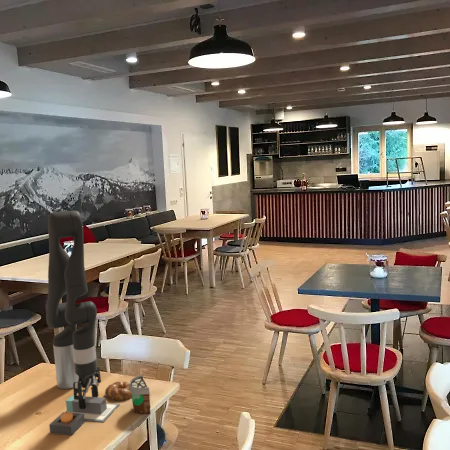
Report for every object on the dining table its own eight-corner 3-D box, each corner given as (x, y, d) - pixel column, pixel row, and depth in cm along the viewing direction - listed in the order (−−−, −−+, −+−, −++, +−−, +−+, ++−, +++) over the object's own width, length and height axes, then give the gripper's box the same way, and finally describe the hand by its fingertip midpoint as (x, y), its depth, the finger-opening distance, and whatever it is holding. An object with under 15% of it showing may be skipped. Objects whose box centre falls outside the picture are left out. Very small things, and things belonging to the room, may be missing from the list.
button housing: (63, 420, 167) (63, 412, 166) (84, 422, 165) (84, 413, 164) (50, 433, 159) (49, 424, 159) (71, 435, 157) (71, 426, 157)
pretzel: (141, 395, 183) (140, 386, 182) (114, 405, 176) (113, 395, 176) (127, 384, 192) (126, 375, 192) (101, 393, 186) (100, 384, 185)
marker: (106, 408, 172) (105, 397, 172) (101, 414, 169) (100, 403, 168) (73, 405, 176) (72, 395, 175) (66, 411, 172) (65, 400, 172)
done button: (65, 418, 164) (64, 411, 164) (75, 419, 163) (74, 412, 163) (58, 424, 160) (58, 417, 160) (69, 425, 159) (68, 418, 159)
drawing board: (77, 401, 180) (77, 400, 180) (119, 405, 176) (119, 403, 176) (59, 418, 168) (58, 417, 168) (103, 422, 164) (103, 420, 164)
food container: (127, 403, 176) (125, 377, 175) (144, 400, 178) (142, 374, 177) (133, 419, 165) (131, 391, 164) (151, 415, 167) (149, 387, 166)
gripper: (84, 367, 162) (88, 413, 164) (104, 351, 176) (108, 394, 178) (64, 366, 164) (68, 412, 166) (86, 350, 177) (89, 392, 179)
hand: (89, 402), depth 172 cm, fingers open, 8 cm apart
